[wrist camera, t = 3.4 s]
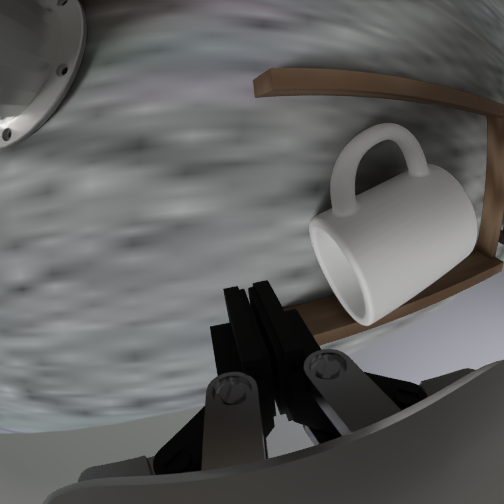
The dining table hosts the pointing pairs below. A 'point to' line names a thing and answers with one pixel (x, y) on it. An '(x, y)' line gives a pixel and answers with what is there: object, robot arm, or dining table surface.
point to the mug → (390, 228)
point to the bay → (495, 199)
